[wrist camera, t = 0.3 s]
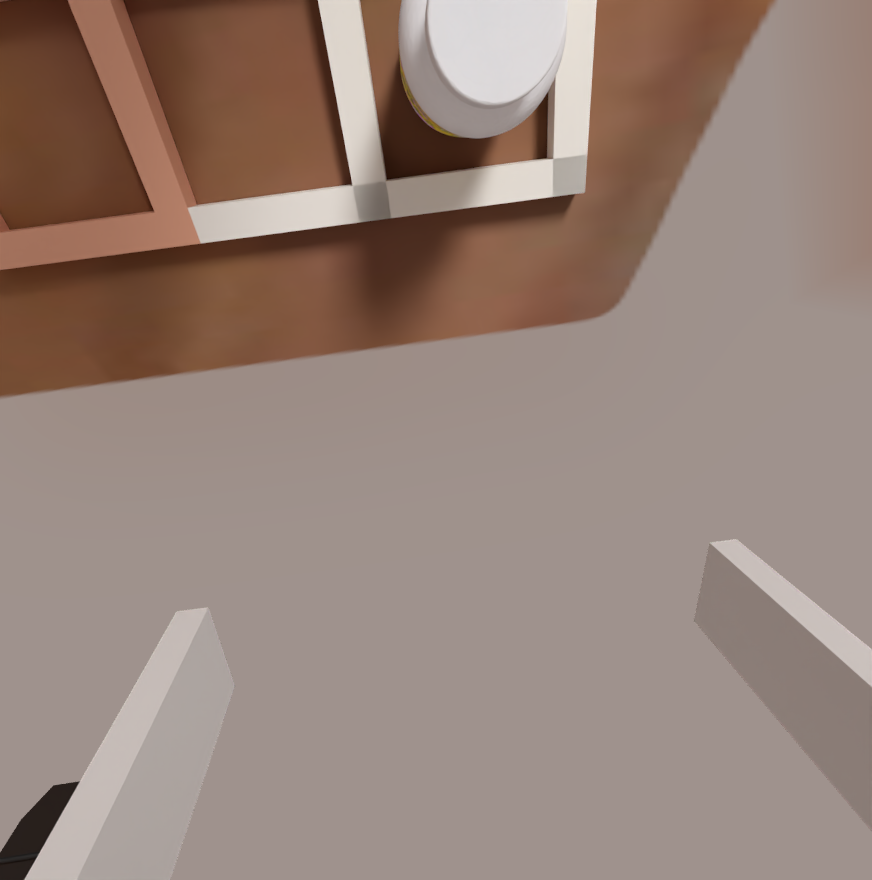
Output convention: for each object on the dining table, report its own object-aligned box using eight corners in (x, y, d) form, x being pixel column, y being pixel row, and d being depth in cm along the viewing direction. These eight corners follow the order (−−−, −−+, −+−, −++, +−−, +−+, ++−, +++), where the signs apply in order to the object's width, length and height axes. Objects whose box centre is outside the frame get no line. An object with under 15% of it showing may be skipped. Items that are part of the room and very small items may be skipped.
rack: (594, -145, 22) (606, -162, 20) (577, 190, 29) (584, 192, 28) (-186, -32, 22) (-221, -42, 21) (-1, 267, 30) (-19, 272, 29)
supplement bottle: (387, 0, 24) (372, -112, 13) (512, -30, 24) (601, -170, 13) (413, 149, 28) (418, 155, 17) (522, 125, 27) (597, 117, 17)
